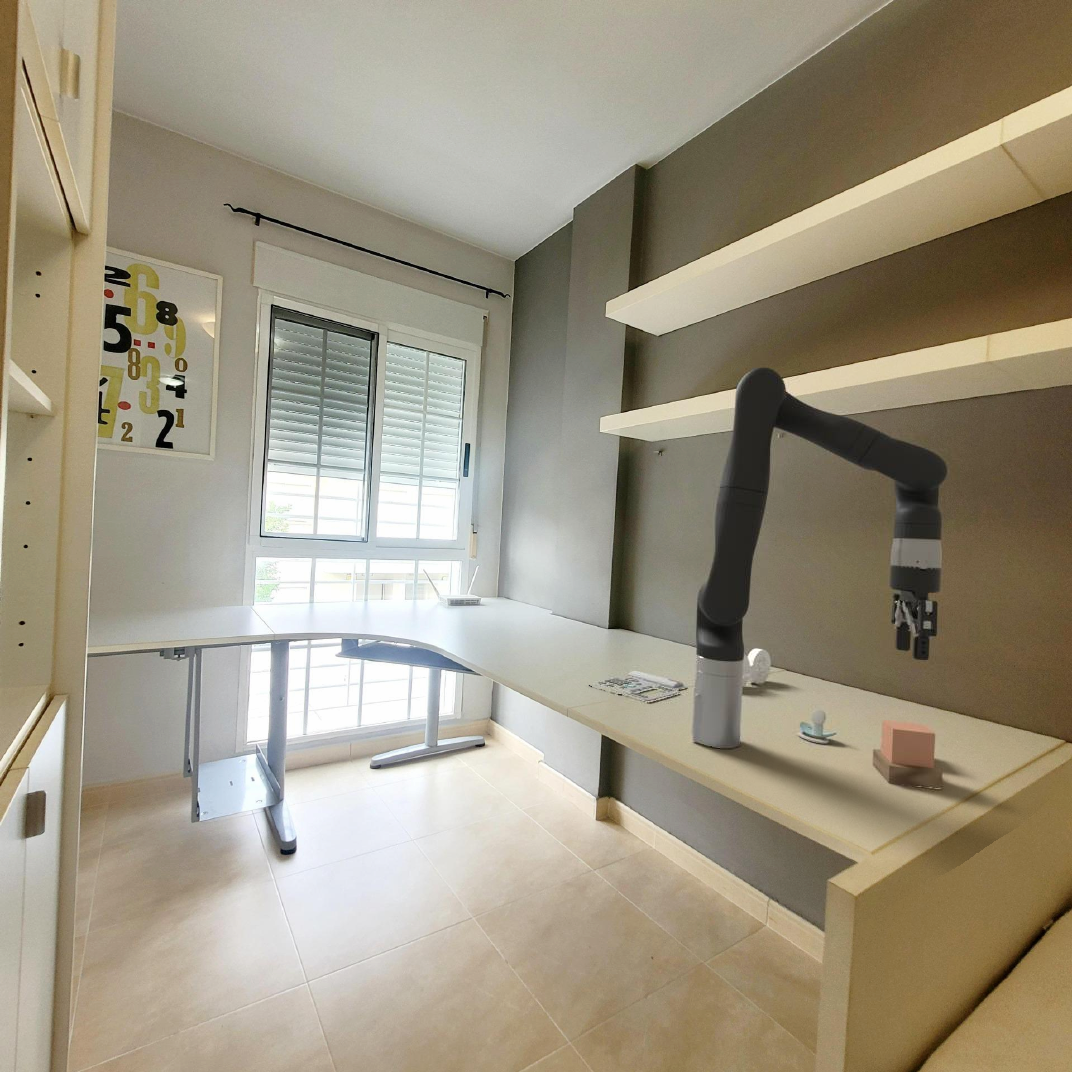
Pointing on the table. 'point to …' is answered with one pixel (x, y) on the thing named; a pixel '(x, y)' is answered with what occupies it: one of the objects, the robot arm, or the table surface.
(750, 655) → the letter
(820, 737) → the pacifier
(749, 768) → the table surface
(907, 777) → the base block
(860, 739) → the table surface
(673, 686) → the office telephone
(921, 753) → the brick terracotta
